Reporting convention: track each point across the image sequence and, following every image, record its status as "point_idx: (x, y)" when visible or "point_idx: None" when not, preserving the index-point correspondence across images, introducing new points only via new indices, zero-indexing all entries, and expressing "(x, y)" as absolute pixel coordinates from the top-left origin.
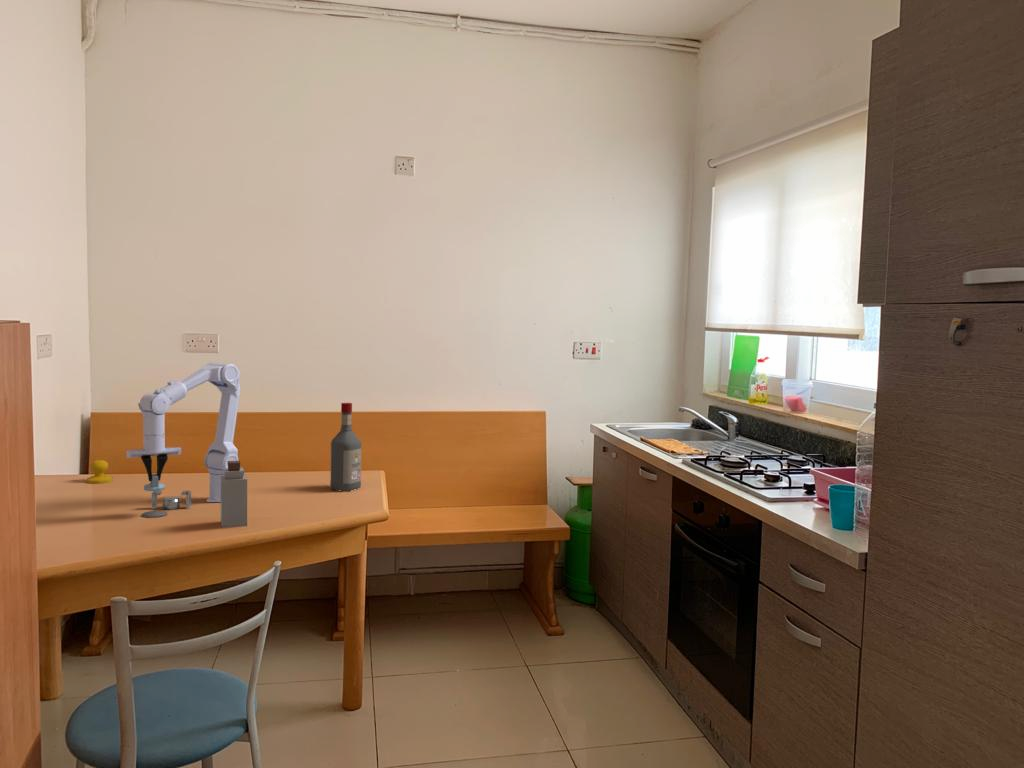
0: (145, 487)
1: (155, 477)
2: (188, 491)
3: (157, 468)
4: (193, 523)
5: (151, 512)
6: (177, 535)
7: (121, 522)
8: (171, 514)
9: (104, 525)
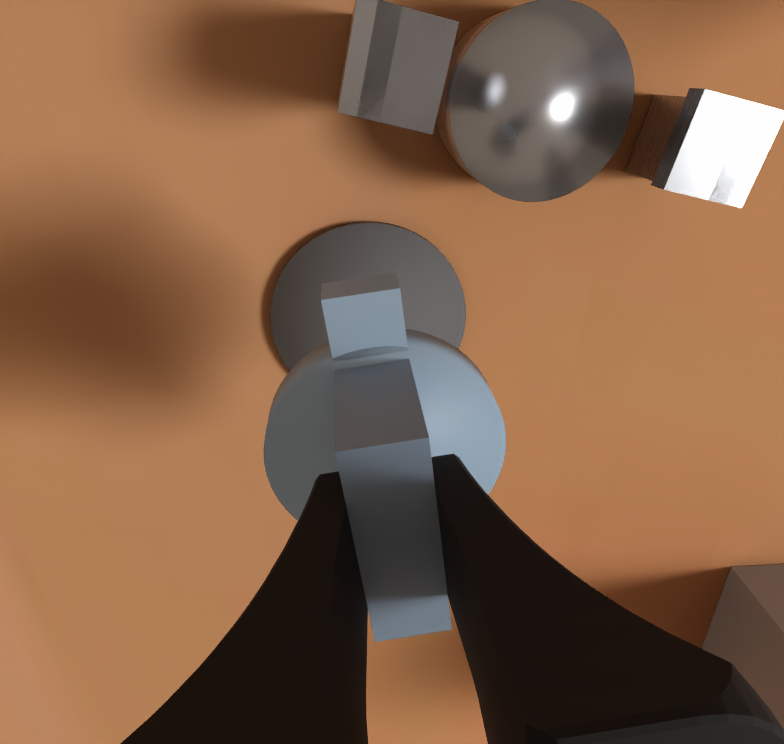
0: (288, 509)
1: (413, 631)
2: (749, 146)
3: (466, 591)
4: (586, 572)
5: (342, 276)
6: (479, 729)
7: (157, 472)
8: (489, 337)
9: (61, 517)
